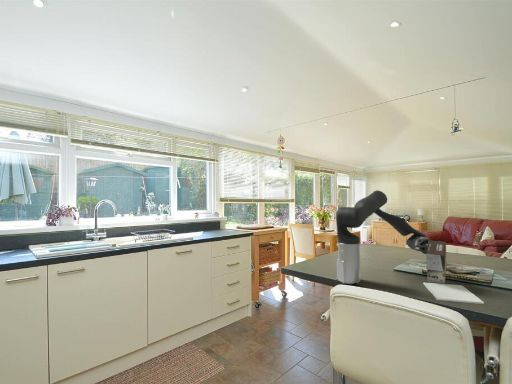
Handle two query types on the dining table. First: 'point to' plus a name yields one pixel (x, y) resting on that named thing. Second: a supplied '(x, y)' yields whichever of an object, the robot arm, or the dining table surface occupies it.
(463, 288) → the white flat rectangular board
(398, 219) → the robot arm
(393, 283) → the dining table surface
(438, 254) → the coffee box
